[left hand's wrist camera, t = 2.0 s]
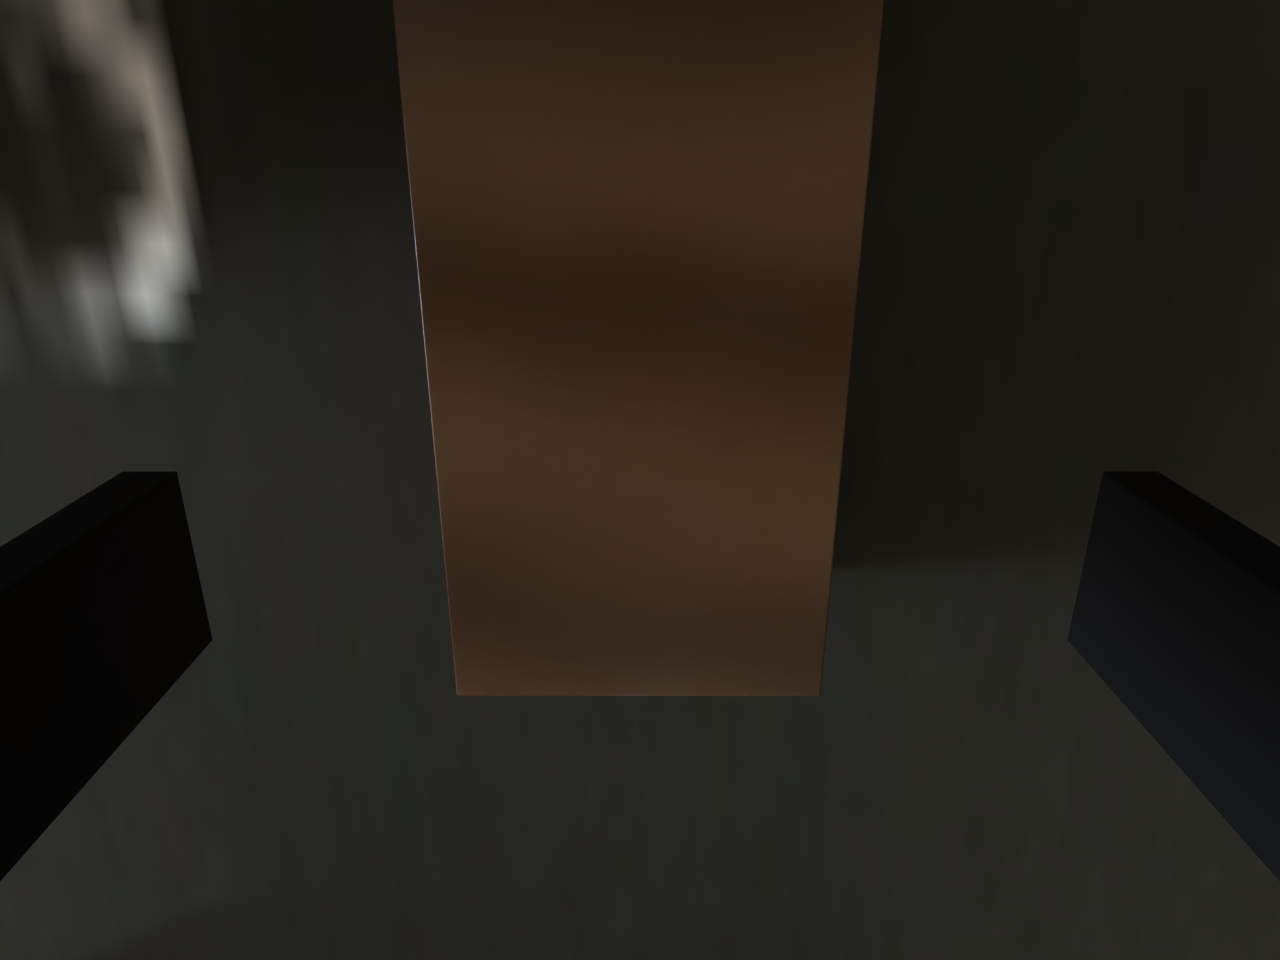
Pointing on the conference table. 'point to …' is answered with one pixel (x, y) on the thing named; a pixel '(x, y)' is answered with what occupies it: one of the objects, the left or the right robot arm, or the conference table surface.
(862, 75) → the wooden beam
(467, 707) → the conference table surface
